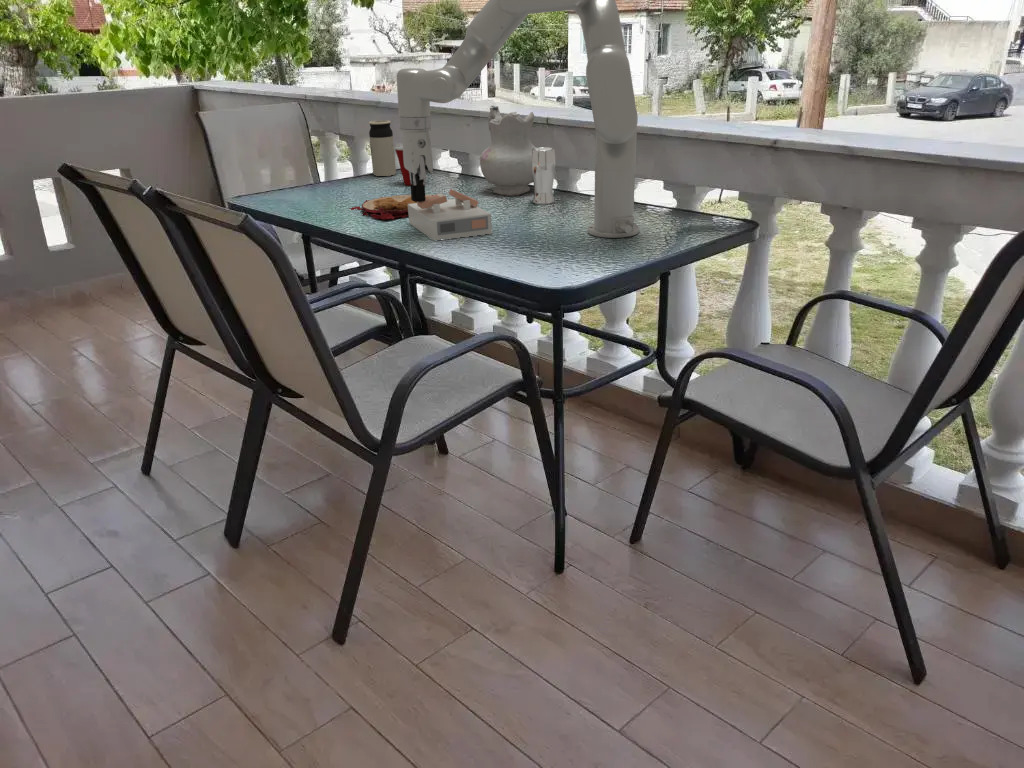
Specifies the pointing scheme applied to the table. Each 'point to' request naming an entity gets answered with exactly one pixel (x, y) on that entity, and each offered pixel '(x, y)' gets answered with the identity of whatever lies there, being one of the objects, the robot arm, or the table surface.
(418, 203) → the rocker
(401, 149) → the plastic cup
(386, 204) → the plate with food
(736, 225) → the table surface
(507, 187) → the ceramic pitcher
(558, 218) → the table surface
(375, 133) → the travel mug
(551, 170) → the white cylinder
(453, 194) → the rocker
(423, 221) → the switch box
